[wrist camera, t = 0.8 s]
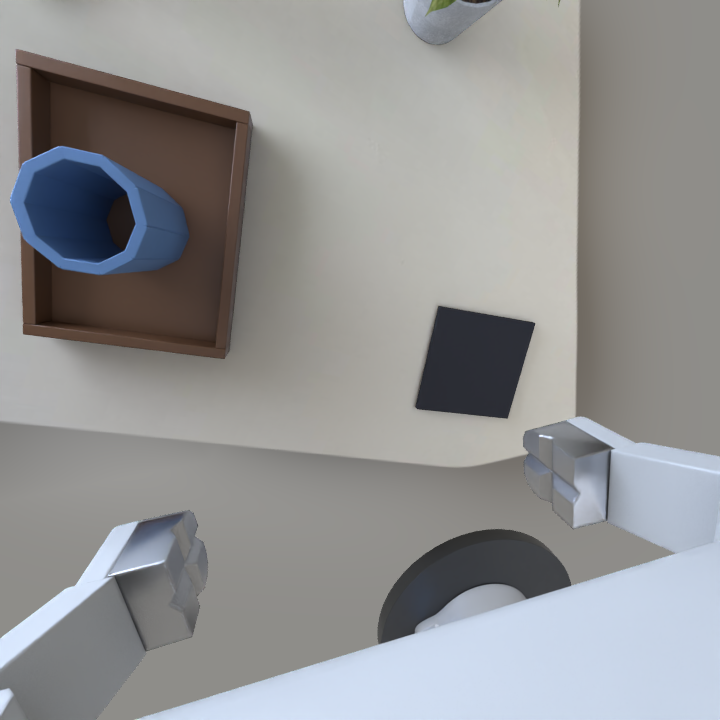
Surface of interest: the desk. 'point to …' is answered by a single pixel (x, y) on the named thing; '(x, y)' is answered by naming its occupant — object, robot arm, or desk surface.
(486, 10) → the house plant
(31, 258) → the tray
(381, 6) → the desk surface
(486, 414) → the mat
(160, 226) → the blue faceted tube
